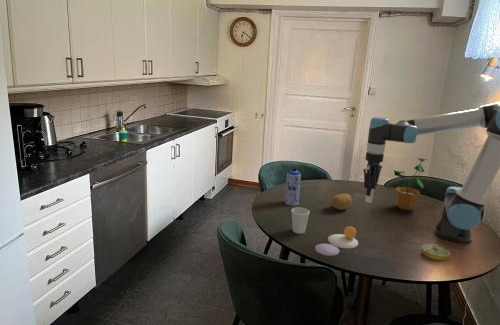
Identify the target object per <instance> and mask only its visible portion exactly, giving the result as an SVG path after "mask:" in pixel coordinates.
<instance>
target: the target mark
mask: <svg viewBox="0 0 500 325" xmlns="http://www.w3.org/2000/svg"><path fill="white" fill-rule="evenodd" d="M327 241H328V244H331V245H334V246H336V247H337V248H339V249H340V248H341V249H353V248H356V247H358V246H359V241H358V240H357V239H356V238H355V237H354V238H352V239H349V238H347V237H345V235H344V233H342V234H341V233H337V234H334V233H333V234H331V235H329V236H328V237H327Z"/></svg>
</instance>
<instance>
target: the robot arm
mask: <svg viewBox="0 0 500 325" xmlns="http://www.w3.org/2000/svg"><path fill="white" fill-rule="evenodd" d="M477 127H480V128H482V129H485V132H486V134H487V137H486V139H485V141H484V143H483V145H482V147H481V149H480V152H479V153H478V155H477V158H476V159H475V160H474V164H473V166H472V167H471V170H470V171H469V173H468V175H467V177H466V180H465V182H464V184H463V186H462V187H460V186H449V187H447V188H446V191H445V198H444V201H443V208H442V213H441V217H440V219H439V220H438V222H437V223H436V225H435V226H434V233H435V234H436V235H437V236H438V237H440V238H442V239H444V240H446V241H450V242H454V241H455V243H469V242H470V241H471V240H472V236H473V234H472V229H474V228H475V227H477V226H478V225H479V224H480V222H481V220H482V214H481V213H482V211H483V209H484V207H485V205H486V203H487V202H486V200H485V196H486V194H487V193H488V191H489V189H490V187H491V185H492V183H493V181H494V179H495V177H496V175H497V173H498V172H499V170H500V101H497V102H494V103H489V104H483V105H480V106H479V107H478V108H476V109H475V108H474V109H469V110H463V111H457V112H449V113H444V114H437V115H431V116H426V117H420V118H419V117H418V118H414V119H408V120H407V119H401V120H399V121H397V122H396V123H391V122H389V118H385V117H379V116H377V117H376V116H375V117H374V116H373V117H372V118H371V119H370V123H369V129H368V137H367V143H366V152H365V160H366V161H367V164H366V168H364V169H363V170H362V171H363V174H364V175H363V176H364V177H363V180H364V181H363V183H364V184H363V185H364V186H363V188H364V189H366V191H365V201H364V202H365V203H366V202H367V203H370V204H371V203H373V199H374V198H373V197H374V189H375V190H376V189H377V186H378V182H379V179H380V173H381V171H382V168H383V166H382V165H380V164H381V163H382V162H383V161H384V156H385V154H384V153H385V149H386V143H387V142H386V141H389V142H398V143H405V144H415V143H416V140H417V136H421V135H422V136H423V135H428V134H435V133H437V134H438V133H442V132H450V131H457V130H463V129H464V130H465V129H471V128H472V129H473V128H477Z"/></svg>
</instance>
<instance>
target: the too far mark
mask: <svg viewBox="0 0 500 325" xmlns="http://www.w3.org/2000/svg"><path fill="white" fill-rule="evenodd" d="M314 250H315V252H317V253H318V254H321V255H323V256H329V257H333V256H337V255H339V253H340V248H339V247H337V246H334V245H332V244H331V243H319V244H317V245H315V246H314Z"/></svg>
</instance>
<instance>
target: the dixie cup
mask: <svg viewBox="0 0 500 325" xmlns="http://www.w3.org/2000/svg"><path fill="white" fill-rule="evenodd" d="M290 210H291V223H292V224H291V225H292V231H293V233H295V234H297V235H298V234H299V235H300V234H305V232H306V228H307V224H308V219H309V215H310V213H311V211H310V210H309V209H308V208H305V207H301V206H300V207H299V206H298V207H297V206H296V207H293V208H292V209H290Z"/></svg>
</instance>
